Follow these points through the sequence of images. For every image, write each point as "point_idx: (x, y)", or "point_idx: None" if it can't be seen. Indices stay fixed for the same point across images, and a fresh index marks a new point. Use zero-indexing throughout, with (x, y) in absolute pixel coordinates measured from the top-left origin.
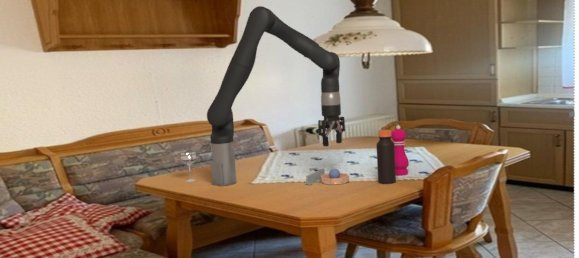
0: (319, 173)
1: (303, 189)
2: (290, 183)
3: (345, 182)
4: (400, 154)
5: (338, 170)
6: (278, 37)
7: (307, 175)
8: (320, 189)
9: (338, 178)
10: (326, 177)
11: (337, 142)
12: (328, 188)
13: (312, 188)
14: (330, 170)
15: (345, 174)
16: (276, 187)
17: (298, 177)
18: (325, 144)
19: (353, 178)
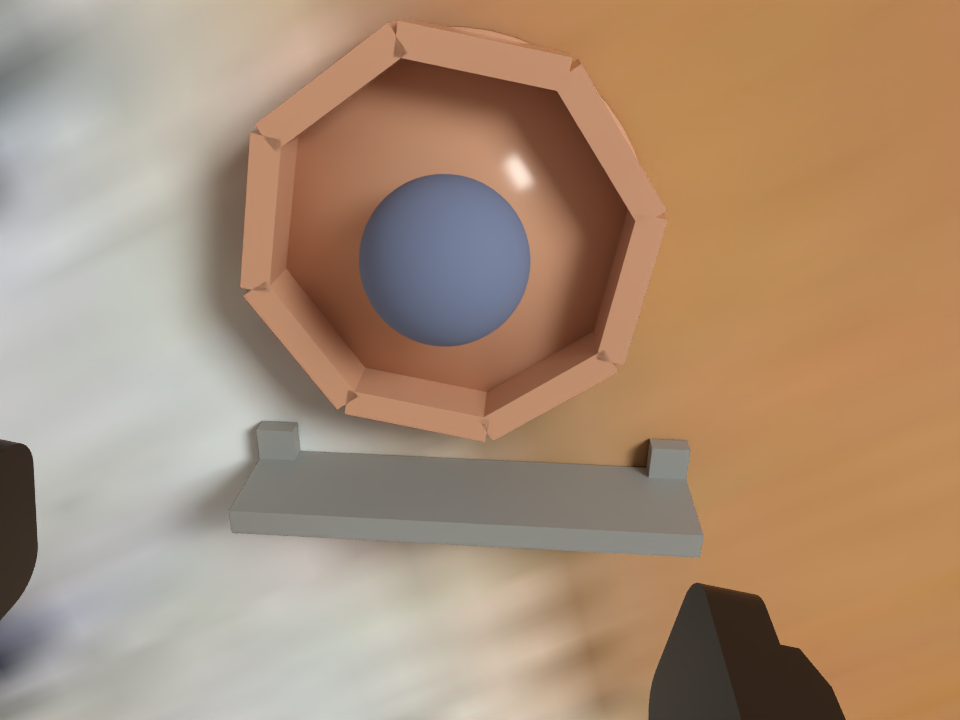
0: (382, 499)
1: (930, 424)
2: (649, 655)
3: (506, 35)
4: None
5: (408, 218)
6: None
7: (676, 549)
8: (923, 225)
9: (609, 114)
10: (404, 380)
11: (25, 551)
12: (857, 142)
13: (870, 346)
14: (465, 334)
15: (295, 136)
16: (847, 702)
17: (368, 688)
18: (812, 677)
19: (184, 54)
